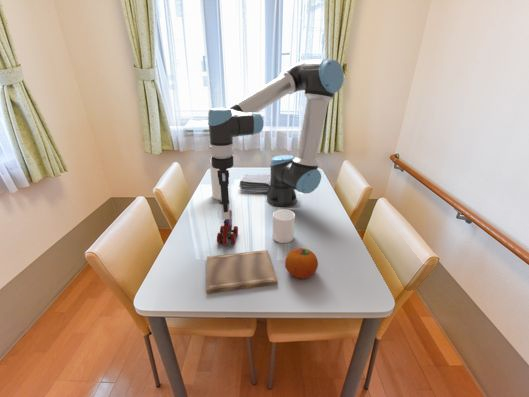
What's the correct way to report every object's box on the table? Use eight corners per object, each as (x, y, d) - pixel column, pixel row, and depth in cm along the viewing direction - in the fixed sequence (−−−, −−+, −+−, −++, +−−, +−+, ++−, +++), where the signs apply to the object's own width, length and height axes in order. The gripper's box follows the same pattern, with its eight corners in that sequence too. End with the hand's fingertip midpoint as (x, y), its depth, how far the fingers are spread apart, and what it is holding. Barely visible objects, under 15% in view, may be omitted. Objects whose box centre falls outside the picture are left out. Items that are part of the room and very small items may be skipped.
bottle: (230, 198, 140) (226, 142, 126) (216, 202, 136) (211, 144, 122) (223, 193, 145) (219, 138, 132) (210, 196, 142) (204, 141, 128)
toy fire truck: (215, 247, 101) (213, 224, 97) (222, 230, 112) (221, 208, 108) (233, 248, 101) (232, 225, 96) (239, 230, 112) (238, 209, 107)
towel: (271, 196, 143) (271, 182, 140) (237, 194, 145) (237, 181, 141) (273, 185, 157) (273, 172, 153) (242, 184, 158) (242, 171, 155)
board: (267, 253, 98) (267, 249, 97) (277, 284, 84) (277, 280, 83) (207, 260, 95) (207, 256, 94) (206, 293, 80) (206, 289, 80)
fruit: (294, 287, 83) (295, 267, 79) (279, 267, 91) (280, 248, 88) (323, 278, 87) (325, 258, 83) (306, 259, 95) (307, 240, 92)
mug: (292, 227, 114) (293, 205, 109) (294, 244, 103) (295, 220, 99) (272, 227, 114) (273, 205, 110) (272, 243, 104) (272, 220, 99)
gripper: (211, 146, 102) (214, 196, 111) (211, 167, 80) (215, 227, 89) (230, 146, 103) (232, 195, 112) (235, 166, 81) (237, 226, 90)
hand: (225, 210), depth 100 cm, fingers open, 13 cm apart
